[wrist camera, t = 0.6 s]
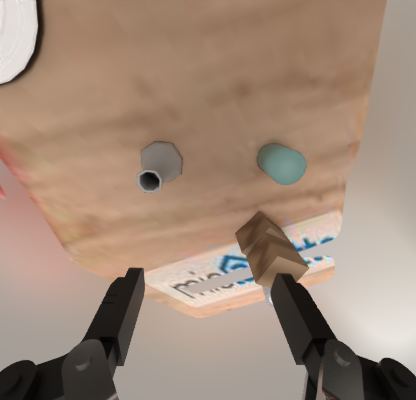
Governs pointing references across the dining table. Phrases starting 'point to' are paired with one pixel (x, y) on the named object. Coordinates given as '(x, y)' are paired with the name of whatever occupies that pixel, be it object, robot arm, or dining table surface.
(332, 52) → the dining table surface
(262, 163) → the cylinder
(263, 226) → the tower base
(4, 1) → the plate
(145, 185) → the flask
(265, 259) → the tower top
